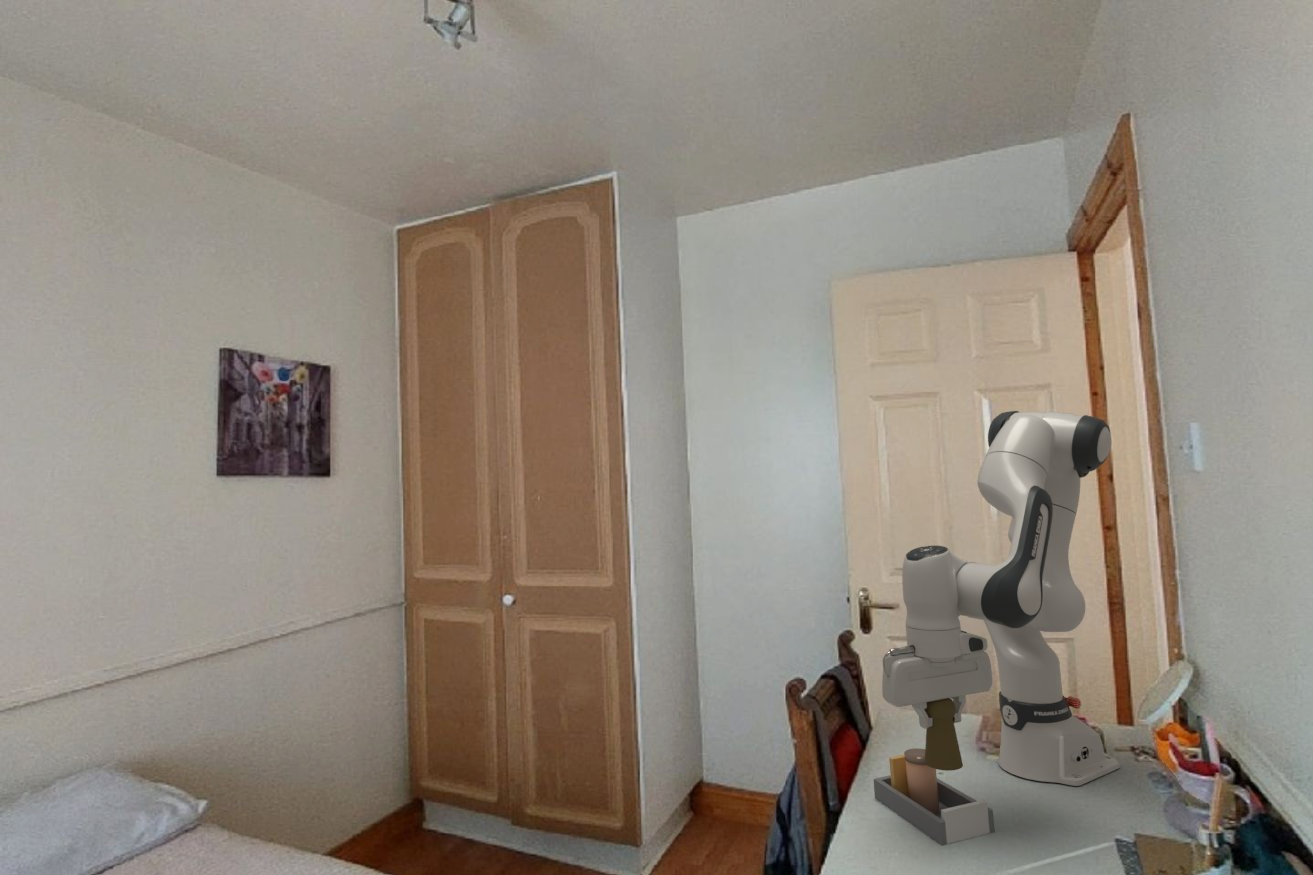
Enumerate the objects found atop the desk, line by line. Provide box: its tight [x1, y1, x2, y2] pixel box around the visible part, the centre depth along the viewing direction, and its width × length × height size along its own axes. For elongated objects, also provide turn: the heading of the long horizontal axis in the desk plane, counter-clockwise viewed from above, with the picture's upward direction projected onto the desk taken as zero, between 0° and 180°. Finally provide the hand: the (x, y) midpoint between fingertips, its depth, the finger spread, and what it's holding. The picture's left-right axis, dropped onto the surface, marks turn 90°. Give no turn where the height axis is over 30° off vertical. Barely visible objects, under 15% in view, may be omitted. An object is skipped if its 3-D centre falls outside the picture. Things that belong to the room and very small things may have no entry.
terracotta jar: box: [903, 747, 940, 815], centre depth 123 cm, size 5×5×10 cm
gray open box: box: [873, 774, 995, 846], centre depth 121 cm, size 10×18×6 cm, turn 17°
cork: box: [924, 698, 964, 772], centre depth 117 cm, size 6×6×11 cm
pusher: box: [888, 754, 909, 798], centre depth 126 cm, size 8×1×8 cm, turn 107°
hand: (940, 724), depth 118 cm, fingers closed on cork, 4 cm apart
